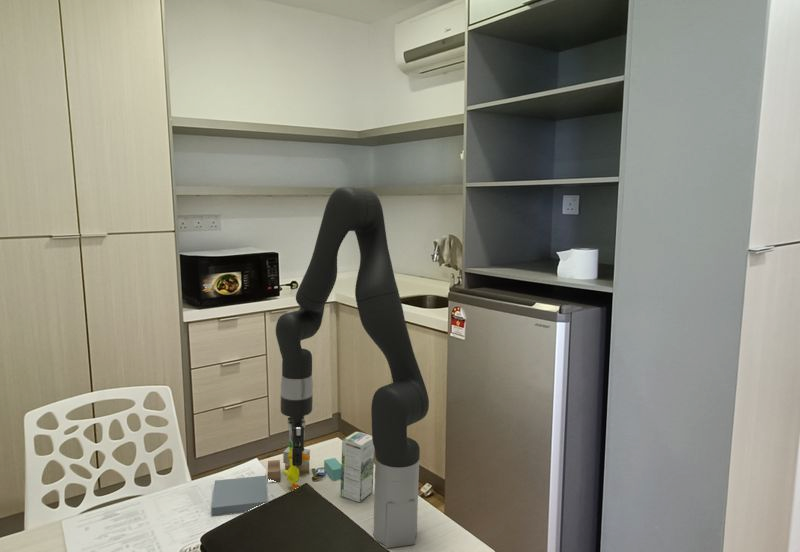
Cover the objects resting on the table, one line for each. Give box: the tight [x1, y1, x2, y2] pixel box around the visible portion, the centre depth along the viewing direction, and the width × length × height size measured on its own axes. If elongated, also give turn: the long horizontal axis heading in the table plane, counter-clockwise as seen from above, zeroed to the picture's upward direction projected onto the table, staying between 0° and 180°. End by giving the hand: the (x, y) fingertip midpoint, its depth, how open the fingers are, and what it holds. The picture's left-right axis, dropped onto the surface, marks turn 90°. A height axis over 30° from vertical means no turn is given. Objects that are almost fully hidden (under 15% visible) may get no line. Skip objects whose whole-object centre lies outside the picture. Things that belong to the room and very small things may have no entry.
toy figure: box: [282, 440, 311, 491], centre depth 131 cm, size 7×4×12 cm, turn 80°
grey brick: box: [282, 446, 311, 466], centre depth 139 cm, size 6×3×3 cm, turn 79°
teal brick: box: [323, 457, 341, 481], centre depth 139 cm, size 6×3×3 cm, turn 29°
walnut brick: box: [267, 459, 281, 483], centre depth 137 cm, size 6×3×3 cm, turn 13°
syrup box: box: [339, 431, 375, 503], centre depth 128 cm, size 6×6×14 cm
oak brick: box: [284, 461, 310, 476], centre depth 139 cm, size 6×3×3 cm, turn 104°
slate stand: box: [211, 475, 268, 517], centre depth 126 cm, size 12×12×2 cm
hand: (295, 456), depth 131 cm, fingers open, 8 cm apart
